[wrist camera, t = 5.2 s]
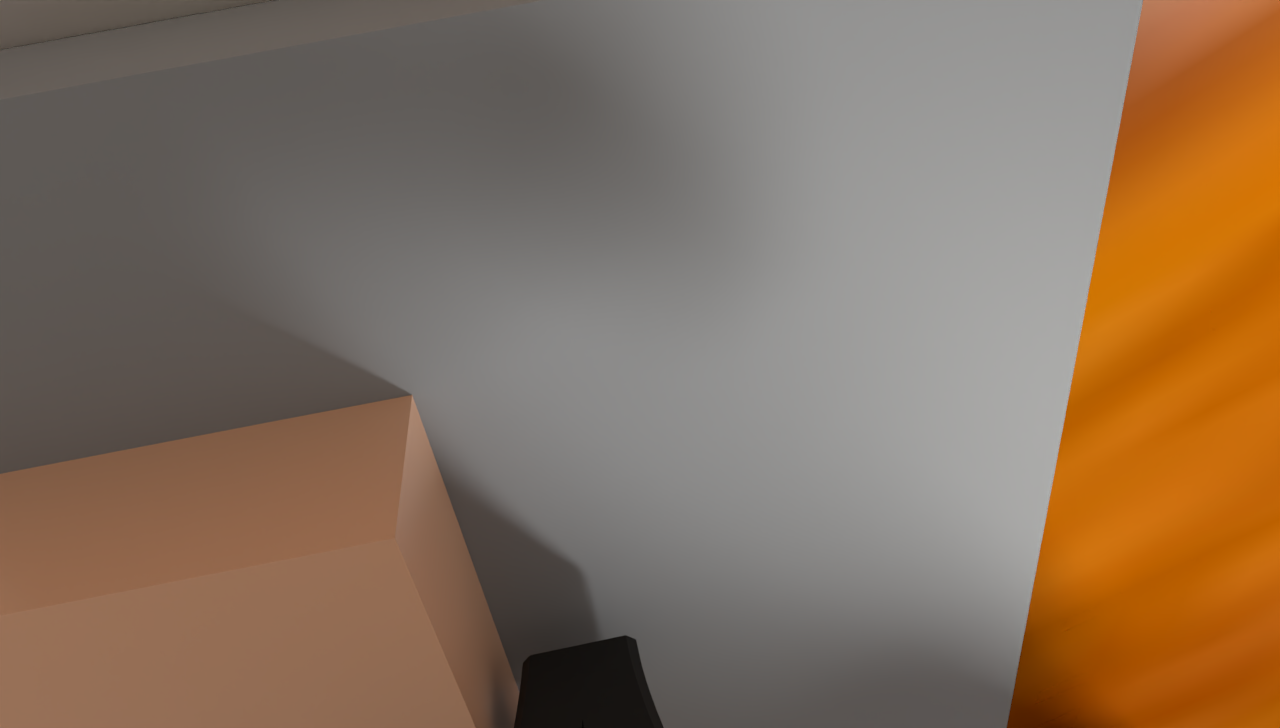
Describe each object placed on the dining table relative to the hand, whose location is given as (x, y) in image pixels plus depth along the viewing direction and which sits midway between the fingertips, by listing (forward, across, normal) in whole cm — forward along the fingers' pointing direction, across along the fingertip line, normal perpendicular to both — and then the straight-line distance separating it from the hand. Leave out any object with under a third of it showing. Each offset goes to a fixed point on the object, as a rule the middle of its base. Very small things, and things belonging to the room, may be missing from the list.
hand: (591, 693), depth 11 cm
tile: (+1, +4, 0) cm, 4 cm away
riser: (+3, 0, 0) cm, 3 cm away
